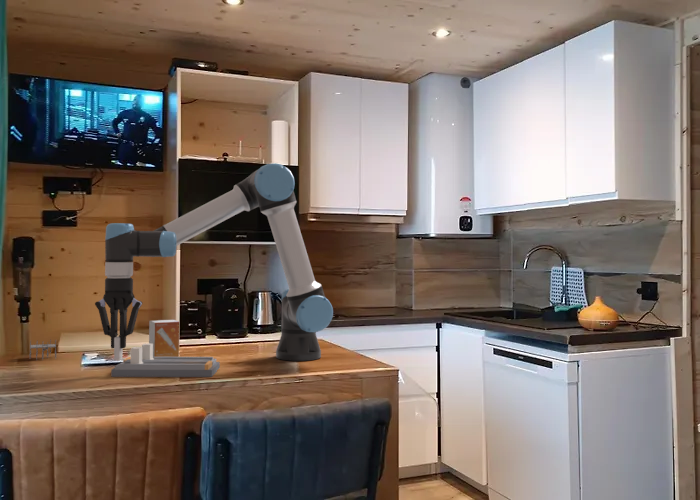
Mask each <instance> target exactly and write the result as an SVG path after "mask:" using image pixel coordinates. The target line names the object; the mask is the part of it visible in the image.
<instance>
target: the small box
mask: <svg viewBox="0 0 700 500" xmlns="http://www.w3.org/2000/svg"><path fill="white" fill-rule="evenodd" d="M148 322H149V324H148V328H149V329H148V333H149V334H148V343H150V344H153V357H180V356H179V355H180V321H178V320H176V319H158V320H149V321H148Z"/></svg>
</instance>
